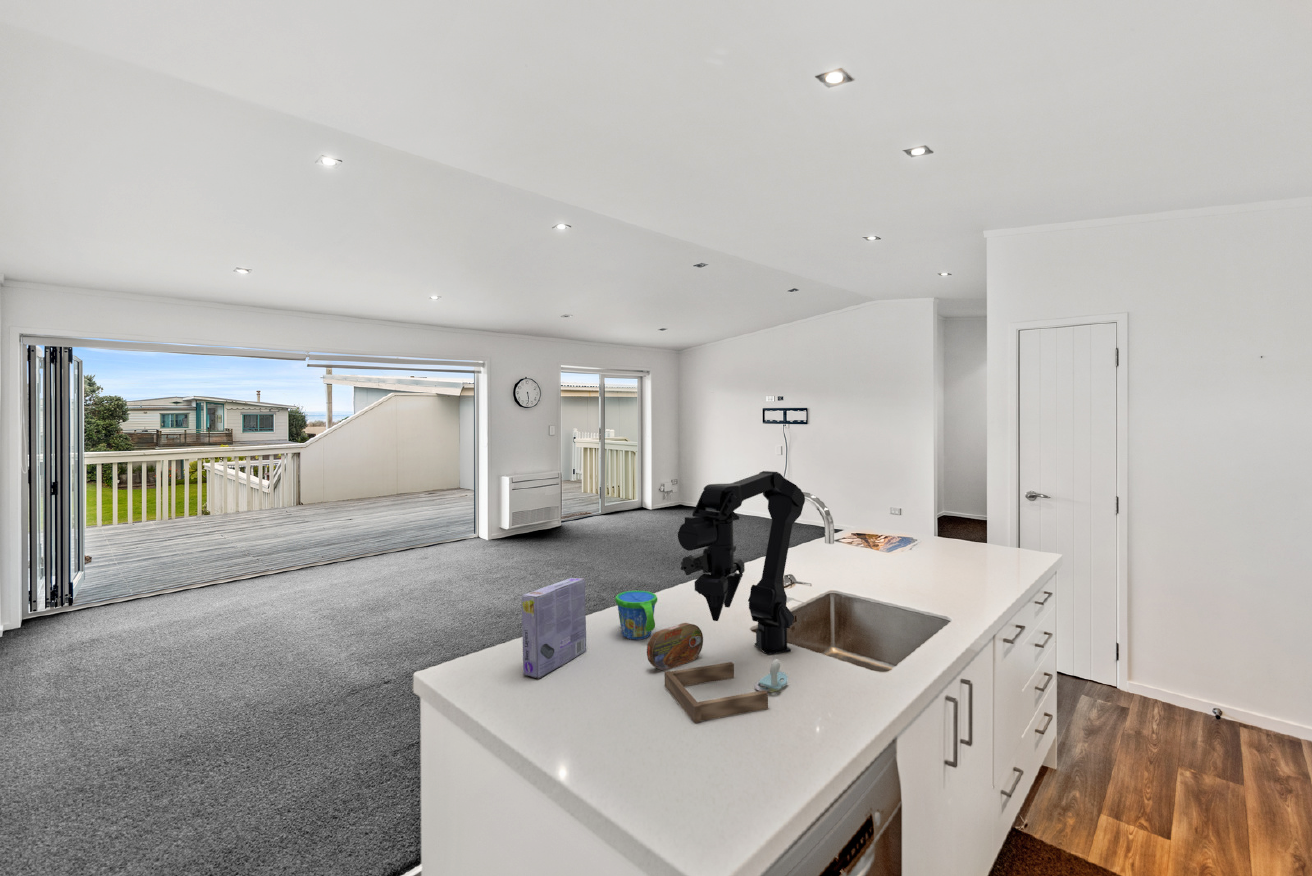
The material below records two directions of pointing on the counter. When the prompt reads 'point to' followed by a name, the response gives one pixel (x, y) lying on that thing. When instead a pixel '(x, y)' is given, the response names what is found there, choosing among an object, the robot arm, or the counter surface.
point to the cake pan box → (553, 626)
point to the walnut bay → (715, 706)
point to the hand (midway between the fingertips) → (721, 613)
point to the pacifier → (772, 679)
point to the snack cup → (636, 613)
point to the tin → (674, 646)
